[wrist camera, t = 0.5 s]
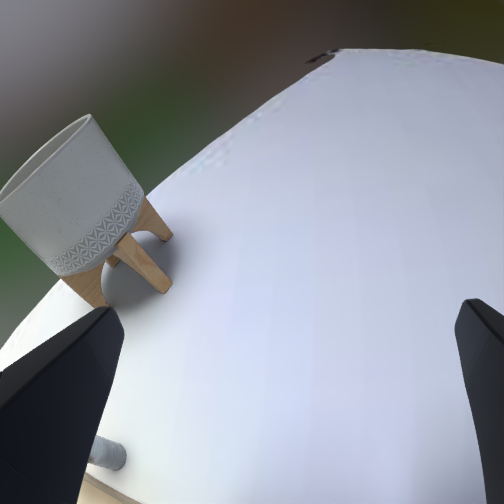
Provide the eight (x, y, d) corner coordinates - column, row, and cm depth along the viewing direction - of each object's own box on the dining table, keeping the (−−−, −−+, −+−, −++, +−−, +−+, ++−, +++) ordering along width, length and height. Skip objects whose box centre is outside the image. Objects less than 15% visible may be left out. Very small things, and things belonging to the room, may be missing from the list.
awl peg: (121, 474, 20) (44, 450, 15) (101, 463, 21) (27, 437, 16) (129, 448, 22) (54, 418, 16) (109, 439, 23) (38, 407, 17)
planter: (204, 242, 35) (111, 103, 23) (131, 338, 30) (-3, 213, 18) (142, 225, 43) (66, 124, 31) (83, 298, 38) (-12, 202, 26)
